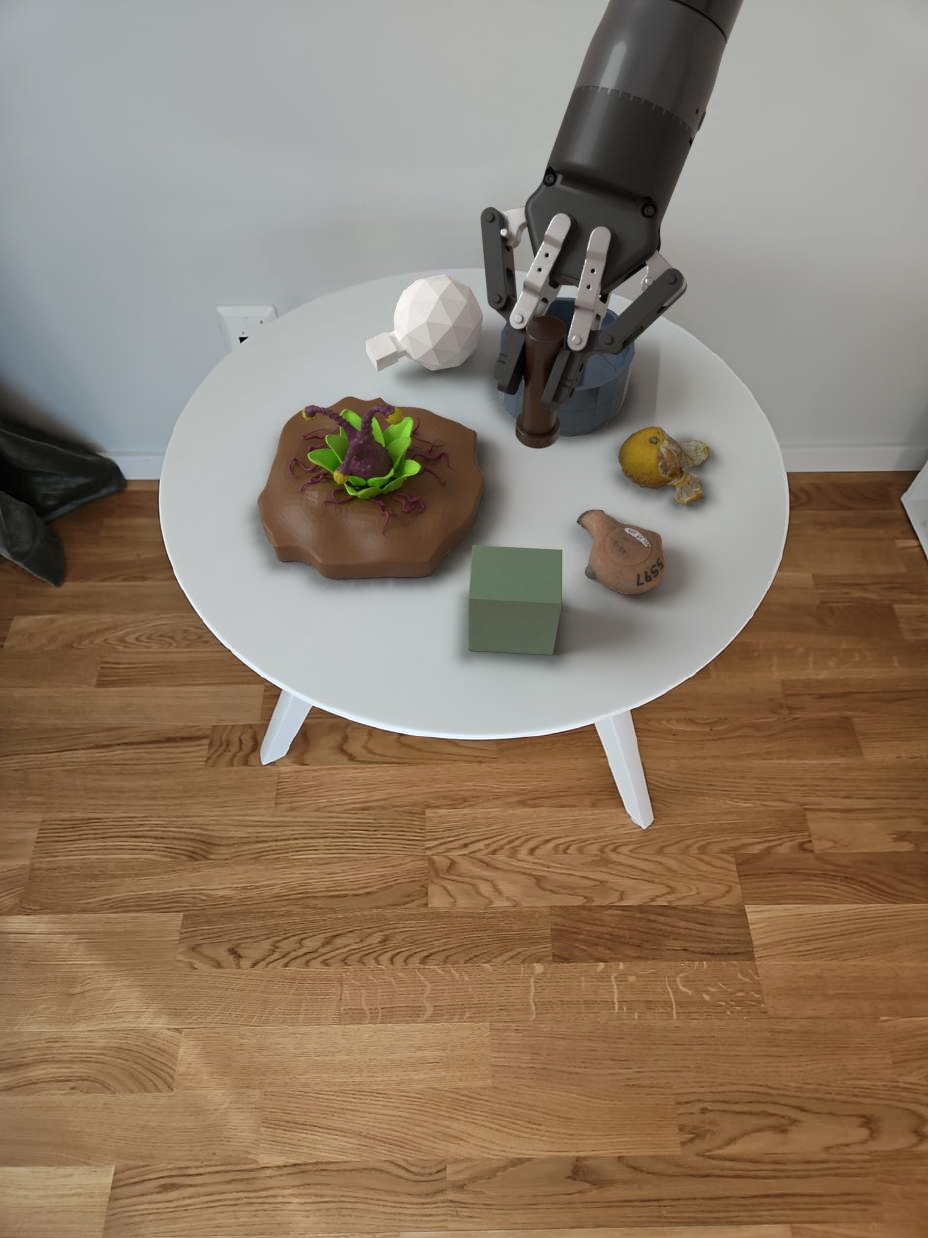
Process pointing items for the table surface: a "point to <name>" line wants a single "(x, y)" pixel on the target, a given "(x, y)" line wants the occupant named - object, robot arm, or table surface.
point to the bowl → (585, 381)
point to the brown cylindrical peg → (539, 382)
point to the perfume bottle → (431, 326)
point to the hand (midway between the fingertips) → (527, 399)
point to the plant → (371, 489)
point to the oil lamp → (622, 554)
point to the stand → (514, 599)
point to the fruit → (663, 462)
